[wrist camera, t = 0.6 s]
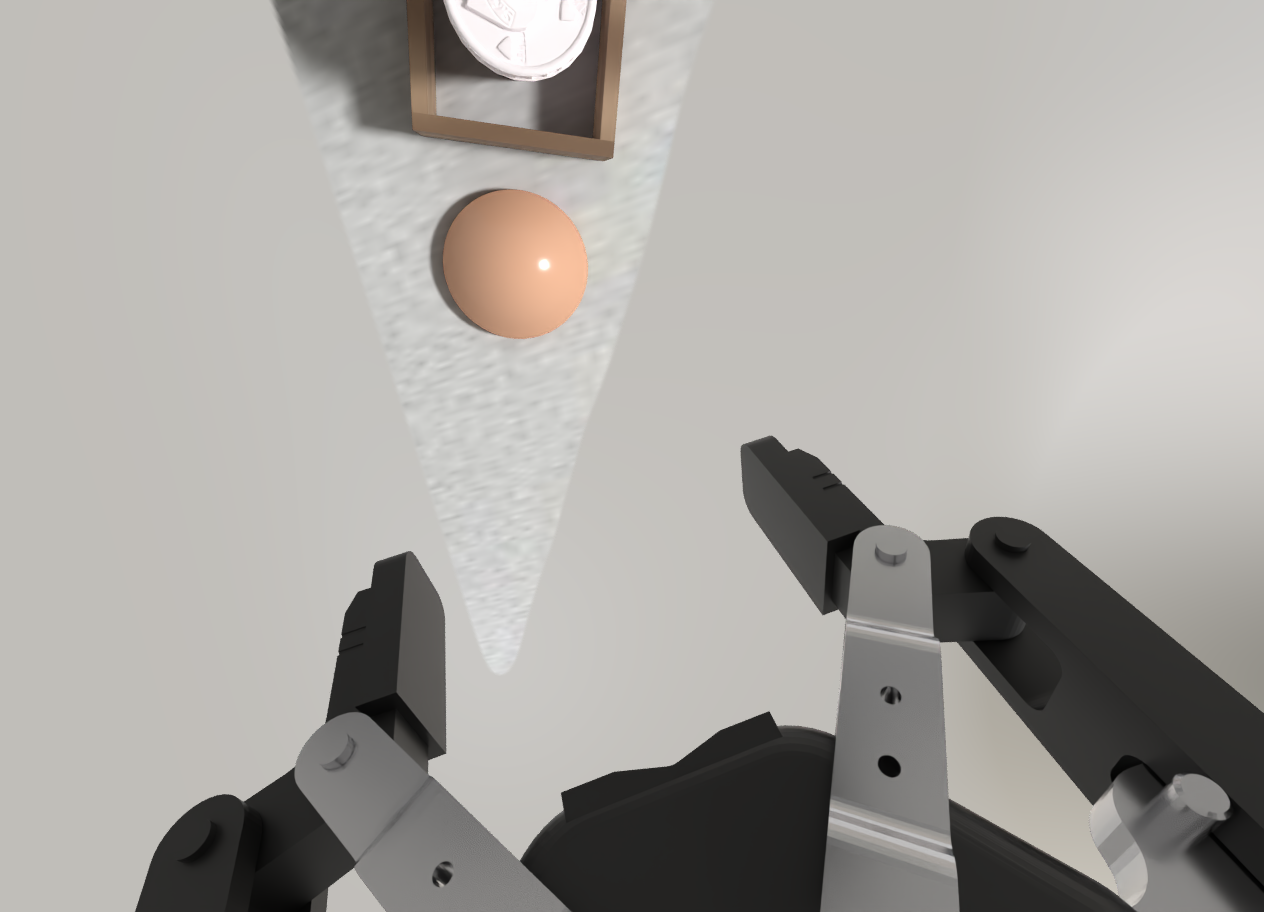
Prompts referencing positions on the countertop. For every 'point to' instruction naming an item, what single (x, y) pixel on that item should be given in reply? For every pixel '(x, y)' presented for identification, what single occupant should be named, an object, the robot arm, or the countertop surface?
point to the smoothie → (523, 34)
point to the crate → (507, 135)
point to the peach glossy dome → (515, 264)
